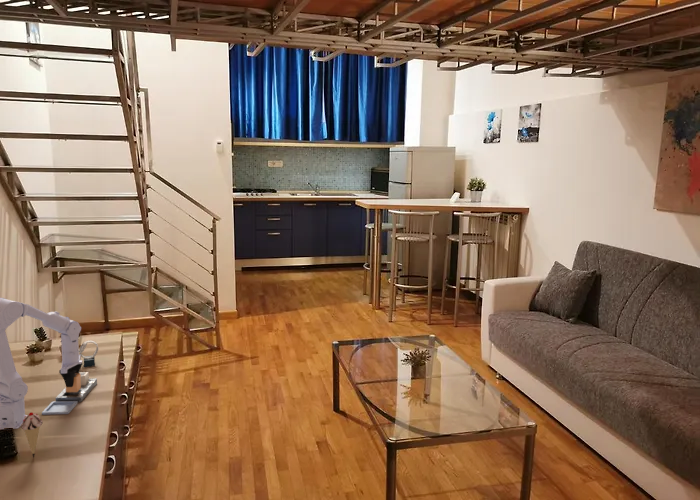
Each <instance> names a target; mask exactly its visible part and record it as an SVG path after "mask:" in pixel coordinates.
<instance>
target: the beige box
mask: <svg viewBox="0 0 700 500" xmlns="http://www.w3.org/2000/svg"><path fill="white" fill-rule="evenodd" d="M79 373H80V374H81V385H87V384H88V382H89V379H90V378H89V377H90V376H89V375H90V374H89V371H86V372H85V371H83V372H82V371H79Z"/></svg>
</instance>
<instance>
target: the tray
mask: <svg viewBox="0 0 700 500" xmlns="http://www.w3.org/2000/svg"><path fill="white" fill-rule="evenodd" d="M77 404H79V402H78V401H56V400H54V401H51V402H50V403H49V405H47V406H46V407H45V408H44V410H42V411H41V415H45V416H46V415H69V414H70V412H71V411H72V410H73V409H74V408H75V407H76V406H77Z"/></svg>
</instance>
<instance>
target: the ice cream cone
mask: <svg viewBox="0 0 700 500" xmlns="http://www.w3.org/2000/svg"><path fill="white" fill-rule="evenodd" d="M26 415H27V416H25V418H24V420H23V423H22V424H21V426H20V428H21V429H23V431H24V433H25V435H26V439H27V442H28V445H29V448H30V451H31V454H32V458H35V455H36V447H37V444H38V438H39V432H40V427H41V426H42V425H43V423H44V422H43V420H42V419H41V416H40V415H38V413H35V412H29V413H28V414H26Z"/></svg>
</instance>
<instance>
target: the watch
mask: <svg viewBox="0 0 700 500" xmlns="http://www.w3.org/2000/svg"><path fill="white" fill-rule="evenodd" d="M88 344H94V345H95V346H96V349H95V351H94V353H93V354H92V355H87V356H85V355H83V354H82V353H83V352H84V351H85V349H86V347H87V345H88ZM98 351H99V345H98V343H97V342H96V341H94V340H92V339H91V340H86V341H83V342H82V343H81V344H80V347H79V355H81V359H82V358H83V368H89V367H95V366H96V365H95V364H96V362H95V361H96V360H95V357H96V355H97V354H98Z"/></svg>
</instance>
